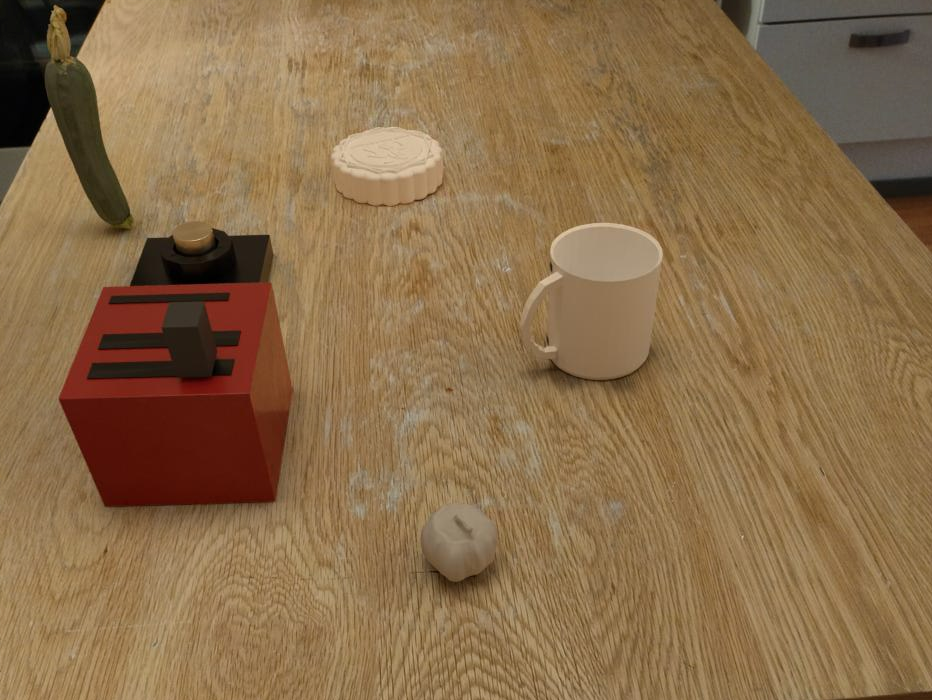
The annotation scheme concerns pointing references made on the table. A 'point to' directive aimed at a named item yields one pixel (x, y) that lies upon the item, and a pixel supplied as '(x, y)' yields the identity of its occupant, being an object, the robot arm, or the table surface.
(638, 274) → the mug
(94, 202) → the vegetable
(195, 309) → the toaster slider
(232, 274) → the button block
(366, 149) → the mooncake
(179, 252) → the button
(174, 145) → the table surface
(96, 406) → the toaster
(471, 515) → the garlic
